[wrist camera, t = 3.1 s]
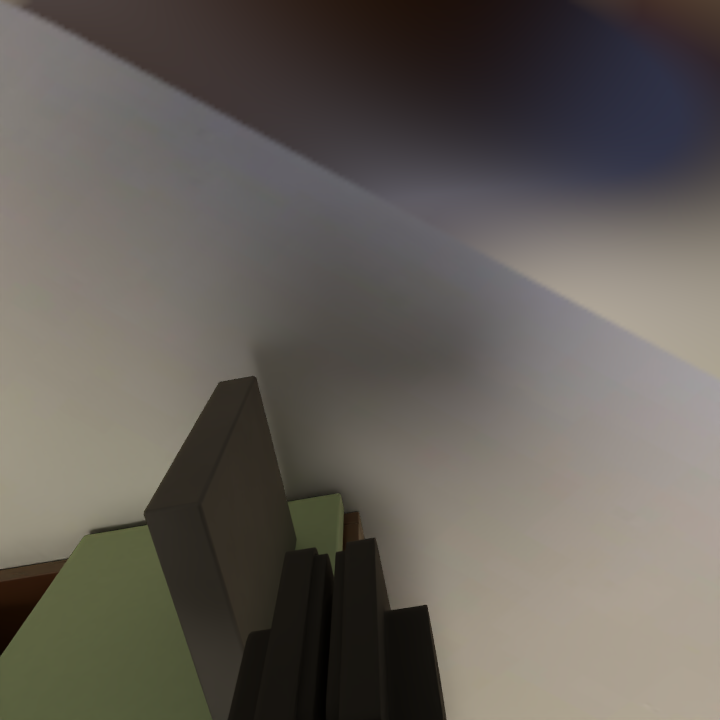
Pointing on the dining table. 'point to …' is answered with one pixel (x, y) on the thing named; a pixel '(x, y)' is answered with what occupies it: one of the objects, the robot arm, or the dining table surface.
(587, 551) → the dining table surface
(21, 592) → the cupboard
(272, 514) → the sliding door
